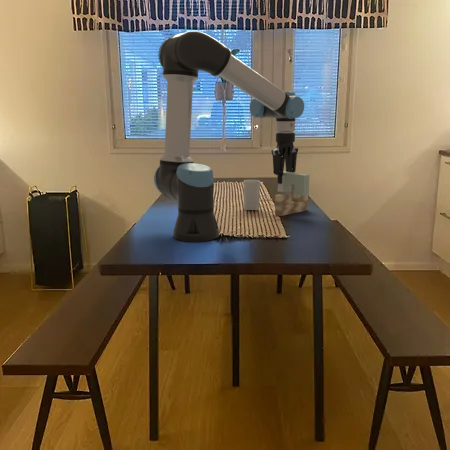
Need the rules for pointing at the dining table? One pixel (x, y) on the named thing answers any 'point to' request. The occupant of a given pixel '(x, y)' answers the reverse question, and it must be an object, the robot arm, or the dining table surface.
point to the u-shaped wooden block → (290, 204)
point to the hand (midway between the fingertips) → (284, 190)
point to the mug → (251, 194)
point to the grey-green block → (296, 183)
